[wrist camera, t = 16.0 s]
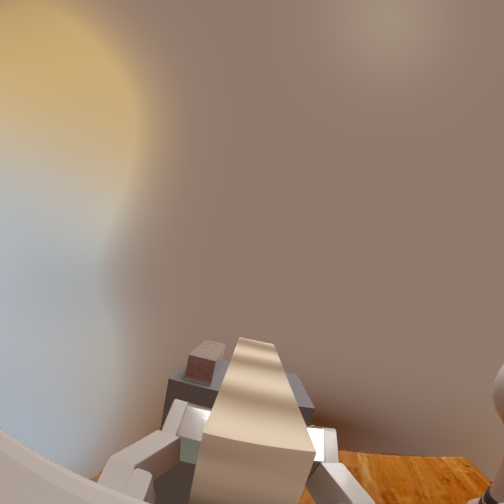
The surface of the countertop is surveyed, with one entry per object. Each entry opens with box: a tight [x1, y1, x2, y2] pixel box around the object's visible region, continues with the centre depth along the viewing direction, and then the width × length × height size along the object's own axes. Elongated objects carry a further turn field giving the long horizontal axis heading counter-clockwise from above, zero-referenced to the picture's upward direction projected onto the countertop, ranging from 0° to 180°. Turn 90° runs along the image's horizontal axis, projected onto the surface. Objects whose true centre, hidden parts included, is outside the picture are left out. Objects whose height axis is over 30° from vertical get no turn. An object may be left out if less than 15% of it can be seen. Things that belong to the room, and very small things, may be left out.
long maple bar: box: [188, 337, 317, 504], centre depth 17 cm, size 20×3×3 cm, turn 179°
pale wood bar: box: [184, 340, 226, 386], centre depth 38 cm, size 12×3×3 cm, turn 179°
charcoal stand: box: [153, 360, 315, 504], centre depth 37 cm, size 16×16×30 cm
